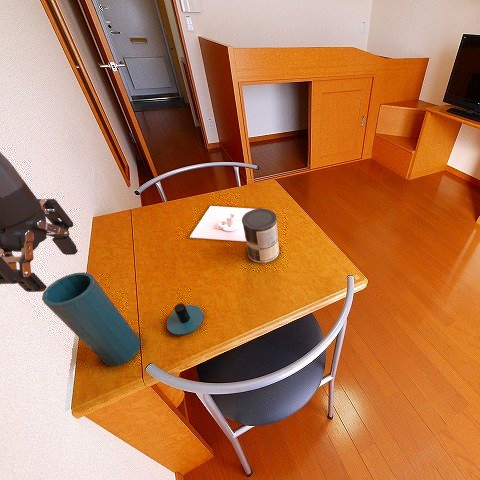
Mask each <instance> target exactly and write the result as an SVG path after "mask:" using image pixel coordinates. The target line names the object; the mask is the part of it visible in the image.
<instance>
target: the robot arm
mask: <svg viewBox="0 0 480 480" xmlns="http://www.w3.org/2000/svg"><path fill="white" fill-rule="evenodd" d="M47 220H48V221H49V222H47ZM73 227H74V221H72V219H71V218H70V217H69V215H68V214H67V212H66V211H65V210H64V209H63V208H62V206H61V204H59V202H58V201H57V199H55V198H37V196H36V195H35V194H34V192H33V191H32V189H31V188H30V187H29V185H28V184H27V182H26V181H25V180H24V178H22V176H21V174H19V172H18V171H17V169H16V168H15V166H14V165H13V164H12V163H11V162H10V161H9V159H8V158H7V157H6V156H5V155H4V154H3V153H2V152H1V151H0V285H16V284H18V285H19V286H20V287H21V288H22V289H23V290H24V291H25V292H27V293H41V292H42V293H44V291H45V290H46V289H47V288H48V286H47V285H46V283H44V282H43V281H42V279H40V278H39V276H37V274H36V273H35V272H32V266H31V265H32V264H31V262H32V261H34V259H35V257H34V251H35V250H36V249H37V248H38V247H39V245H40V243H42V242H44V241H45V240H46V239H47V238H48V237H50V238H52V239H51V241H52V242H53V243H54V244H55V246H56V247H57V248H58V249H59V251H60V252H61V253H62V255H66V256H73V255H74V256H75V255H76V254H77V253H78V252H79V250H78V248H77V245H76V243H75V242H74V241H73V239H72V238H71V236H70V231H69V230H70V228H73ZM13 252H14V253H21V255H17V256H15V255H14V254H13ZM17 264H18V266H17ZM17 267H19V269H18V268H17Z"/></svg>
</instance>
